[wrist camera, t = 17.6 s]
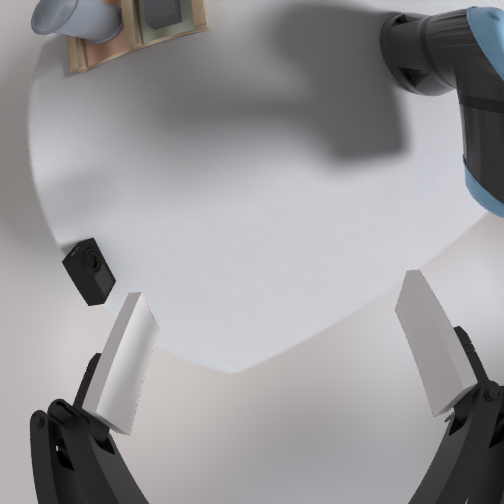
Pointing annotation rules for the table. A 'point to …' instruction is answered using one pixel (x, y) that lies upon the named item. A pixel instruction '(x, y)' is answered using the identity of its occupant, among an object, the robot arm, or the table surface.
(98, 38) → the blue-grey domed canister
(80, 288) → the digital camera
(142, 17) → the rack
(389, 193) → the table surface
